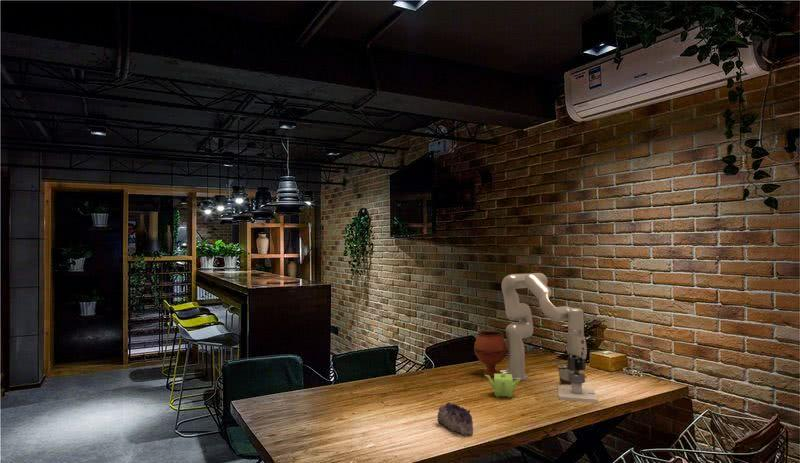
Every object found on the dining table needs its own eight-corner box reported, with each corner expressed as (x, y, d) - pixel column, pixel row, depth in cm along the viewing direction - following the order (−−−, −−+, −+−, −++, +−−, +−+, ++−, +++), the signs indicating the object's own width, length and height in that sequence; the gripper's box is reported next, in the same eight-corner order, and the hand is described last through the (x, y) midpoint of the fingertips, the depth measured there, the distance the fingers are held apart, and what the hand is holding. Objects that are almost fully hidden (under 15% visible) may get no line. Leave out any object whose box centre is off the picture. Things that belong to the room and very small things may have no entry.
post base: (558, 399, 230) (558, 385, 230) (557, 388, 247) (557, 375, 247) (597, 402, 224) (597, 388, 224) (594, 391, 241) (593, 378, 241)
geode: (484, 433, 189) (482, 409, 188) (461, 442, 184) (459, 418, 183) (456, 415, 207) (453, 393, 206) (434, 423, 202) (432, 401, 201)
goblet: (468, 372, 280) (467, 331, 280) (494, 368, 288) (493, 328, 289) (486, 380, 262) (486, 336, 263) (514, 376, 270) (513, 333, 271)
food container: (577, 382, 259) (577, 364, 259) (580, 385, 253) (580, 366, 253) (555, 381, 260) (554, 363, 260) (557, 384, 254) (557, 366, 254)
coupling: (573, 383, 231) (573, 360, 231) (565, 379, 239) (565, 356, 239) (590, 382, 233) (590, 359, 233) (582, 378, 240) (581, 355, 241)
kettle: (504, 402, 226) (503, 379, 226) (483, 394, 238) (482, 372, 238) (524, 396, 235) (523, 374, 235) (502, 389, 246) (502, 368, 247)
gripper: (593, 335, 230) (594, 372, 229) (571, 329, 246) (572, 364, 245) (580, 336, 227) (581, 373, 227) (559, 330, 243) (560, 365, 243)
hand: (576, 368), depth 236 cm, fingers closed on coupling, 3 cm apart
